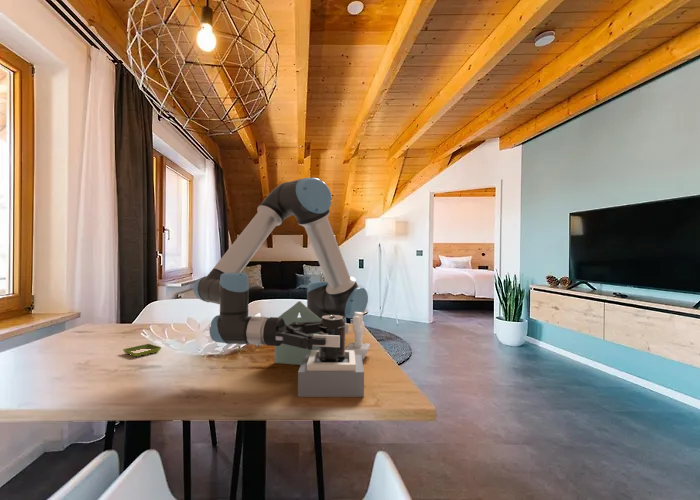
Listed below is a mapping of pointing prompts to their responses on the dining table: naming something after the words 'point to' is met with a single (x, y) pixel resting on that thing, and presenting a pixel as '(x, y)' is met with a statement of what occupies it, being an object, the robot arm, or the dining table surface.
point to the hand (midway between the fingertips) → (344, 334)
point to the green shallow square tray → (146, 346)
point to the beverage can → (332, 327)
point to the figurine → (358, 336)
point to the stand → (331, 376)
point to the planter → (292, 353)
